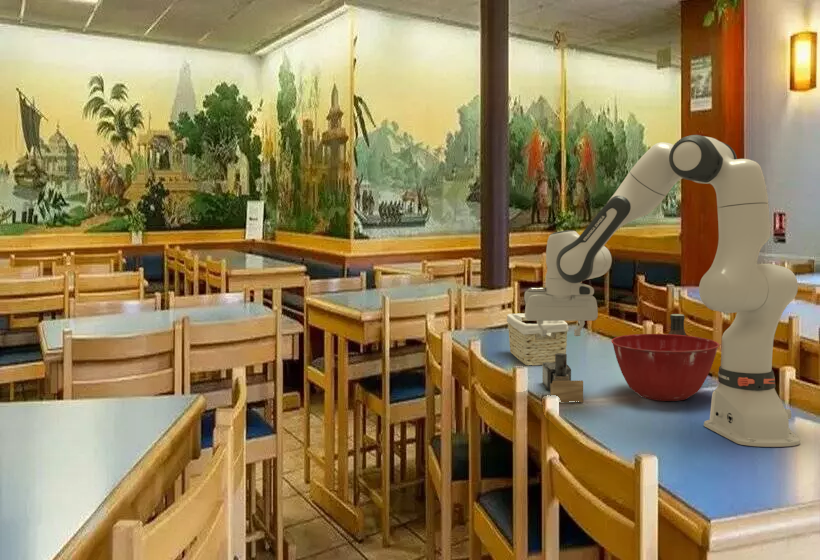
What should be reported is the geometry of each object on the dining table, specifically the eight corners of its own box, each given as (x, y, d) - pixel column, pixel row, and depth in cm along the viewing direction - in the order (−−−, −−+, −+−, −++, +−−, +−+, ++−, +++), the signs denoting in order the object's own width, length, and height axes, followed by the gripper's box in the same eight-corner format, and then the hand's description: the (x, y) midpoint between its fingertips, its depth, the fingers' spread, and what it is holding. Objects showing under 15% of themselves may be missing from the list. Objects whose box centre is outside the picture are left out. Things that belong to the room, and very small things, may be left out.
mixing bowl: (590, 388, 216) (591, 336, 215) (671, 379, 226) (672, 329, 224) (652, 413, 190) (653, 354, 188) (741, 402, 199) (742, 346, 198)
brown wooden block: (583, 403, 200) (583, 381, 200) (552, 403, 201) (552, 381, 200) (580, 399, 204) (580, 377, 204) (550, 399, 205) (550, 378, 204)
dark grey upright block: (568, 390, 210) (569, 355, 209) (554, 390, 210) (555, 355, 209) (561, 379, 222) (561, 347, 221) (547, 380, 222) (548, 347, 221)
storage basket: (569, 365, 247) (570, 322, 246) (522, 367, 246) (522, 323, 244) (548, 351, 271) (549, 312, 270) (505, 353, 269) (505, 313, 268)
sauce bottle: (688, 382, 223) (690, 316, 221) (667, 381, 224) (668, 316, 222) (685, 377, 229) (687, 313, 227) (664, 376, 230) (665, 313, 228)
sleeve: (570, 390, 214) (571, 369, 214) (547, 390, 214) (547, 369, 214) (565, 382, 223) (565, 362, 223) (542, 383, 224) (542, 362, 223)
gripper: (525, 289, 206) (525, 338, 208) (599, 289, 205) (598, 338, 207) (523, 286, 212) (522, 333, 214) (594, 286, 212) (593, 333, 213)
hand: (560, 335), depth 210 cm, fingers open, 8 cm apart
